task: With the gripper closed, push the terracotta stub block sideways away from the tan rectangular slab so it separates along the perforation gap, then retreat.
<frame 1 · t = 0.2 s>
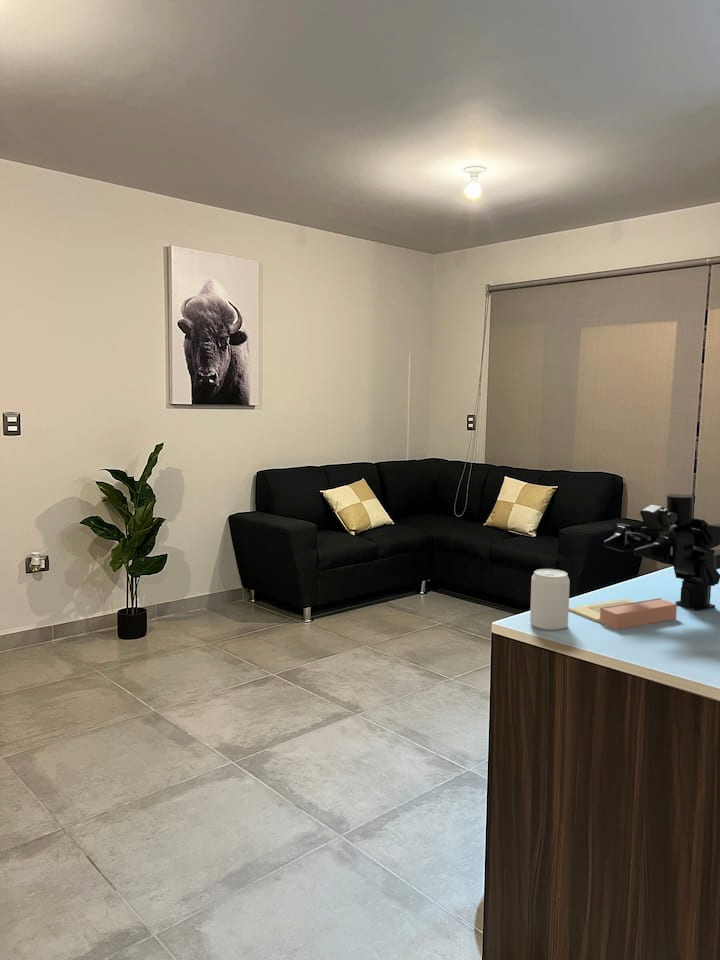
hand: (618, 547, 164), 17 cm above the table, tool horizontal, fingers open, 9 cm apart
beverage can: (548, 626, 162), on the table
tan rectangular slab: (612, 611, 172), on the table
stub: (638, 613, 165), point 2 cm above the table, slide at 0.0 cm
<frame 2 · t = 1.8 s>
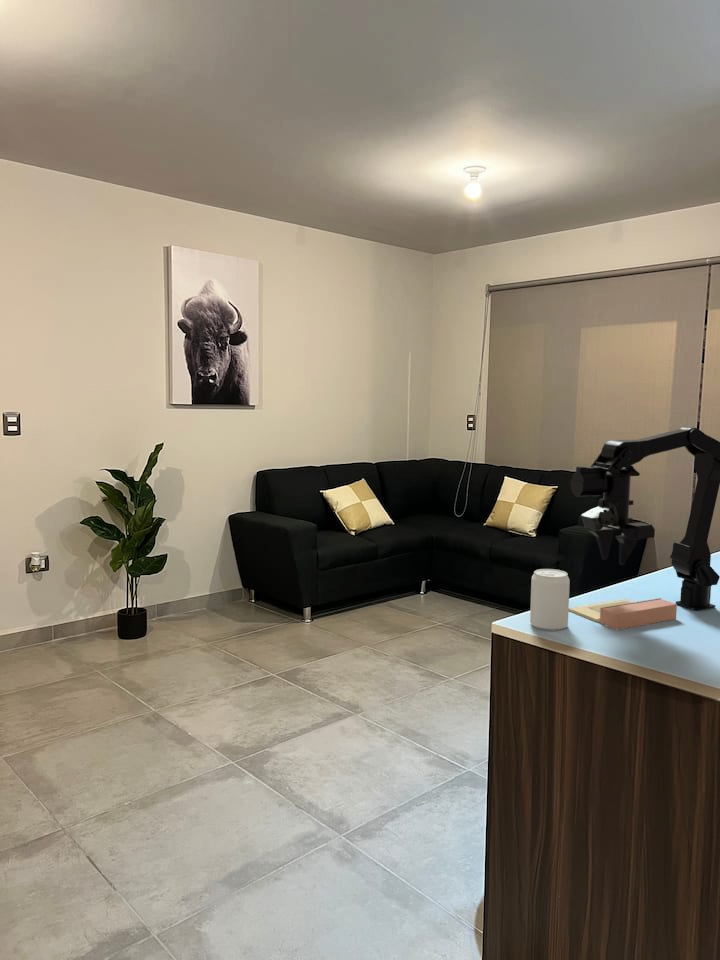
hand: (613, 561, 171), 12 cm above the table, tool pointing down, fingers open, 5 cm apart
nothing on the table moved.
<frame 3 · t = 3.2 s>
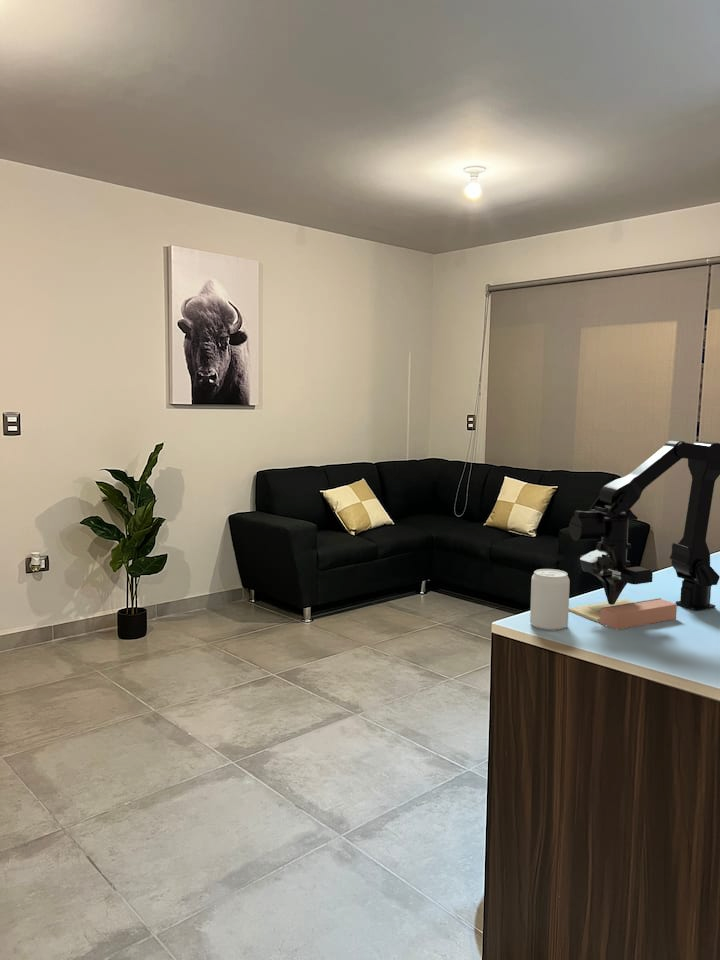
hand: (611, 604, 172), 2 cm above the table, tool pointing down, fingers closed
nothing on the table moved.
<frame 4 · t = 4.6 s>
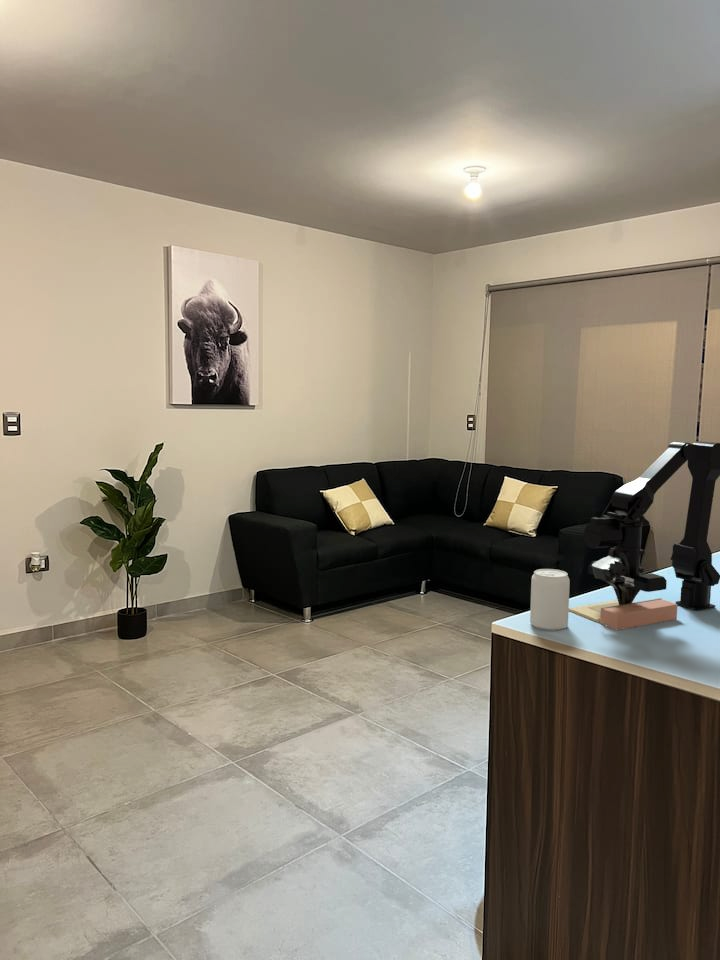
hand: (623, 611, 168), 1 cm above the table, tool pointing down, fingers closed
stub: (639, 613, 165), point 2 cm above the table, slide at 0.1 cm, touching gripper
everything else where it was.
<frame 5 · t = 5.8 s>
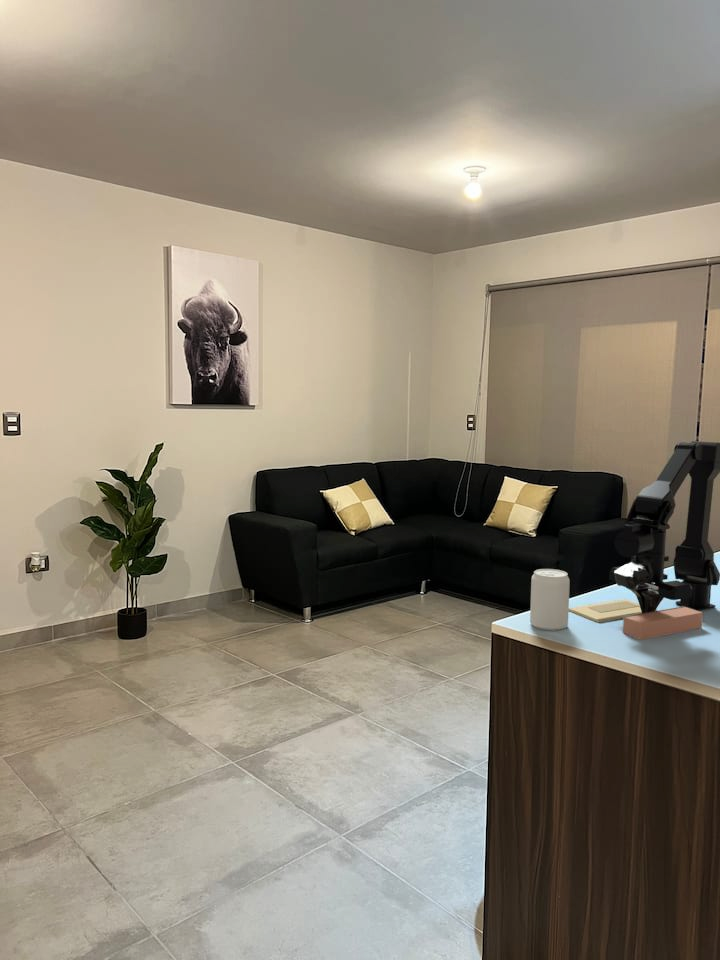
hand: (646, 619, 162), 1 cm above the table, tool pointing down, fingers closed
stub: (663, 622, 159), point 2 cm above the table, slide at 6.9 cm, touching gripper
everything else where it was.
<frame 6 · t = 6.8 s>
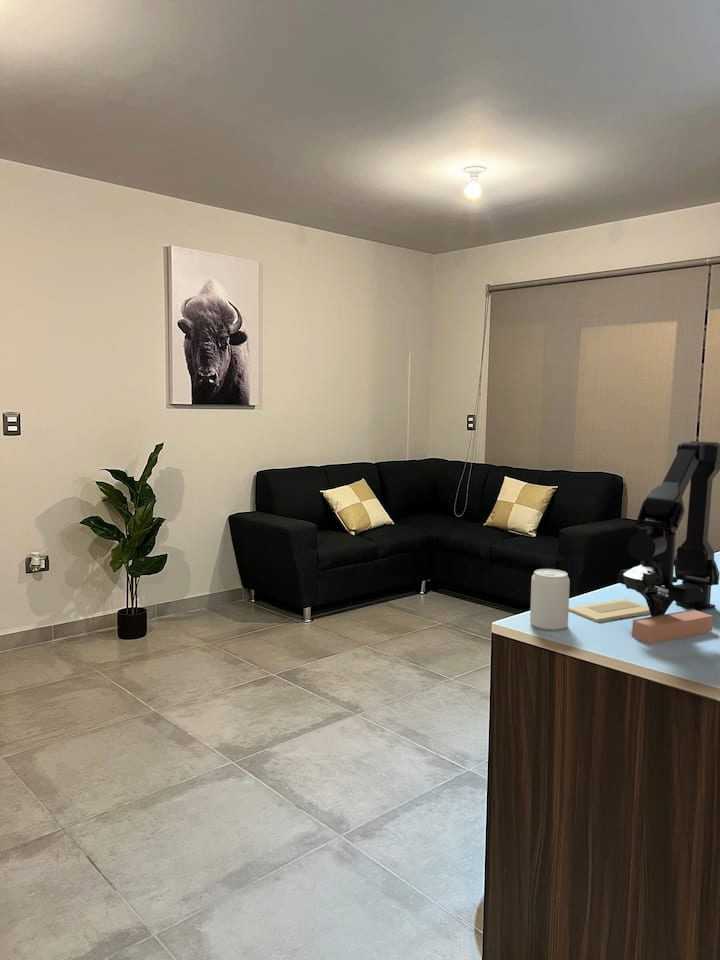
hand: (656, 623, 160), 1 cm above the table, tool pointing down, fingers closed
stub: (672, 625, 157), point 2 cm above the table, slide at 9.5 cm, touching gripper
everything else where it was.
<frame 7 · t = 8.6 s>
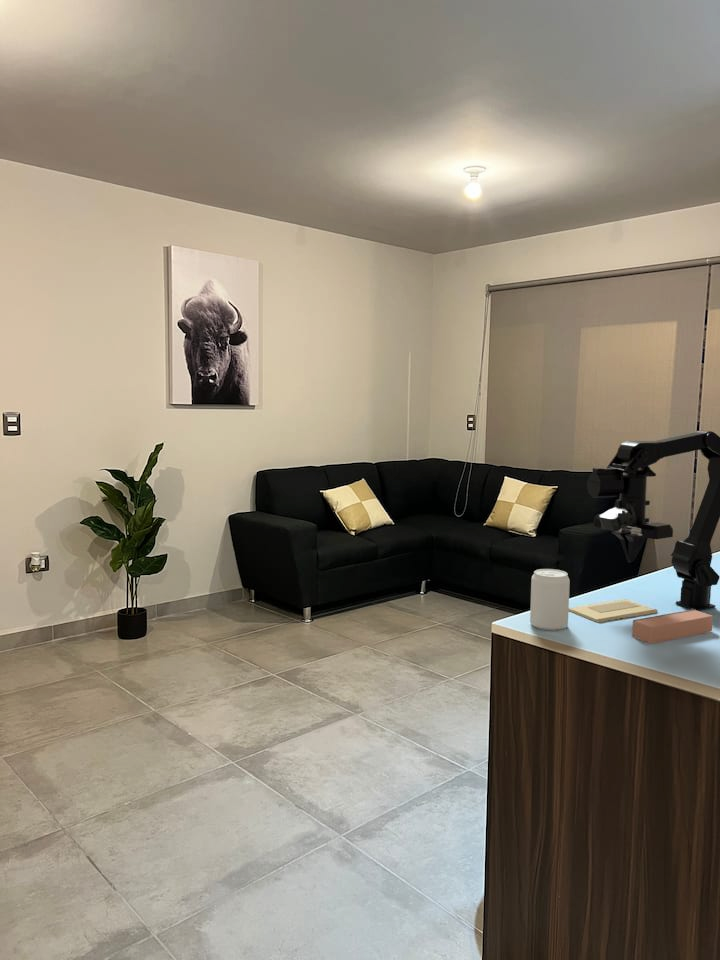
hand: (630, 561, 172), 12 cm above the table, tool pointing down, fingers closed
stub: (672, 625, 157), point 2 cm above the table, slide at 9.5 cm
everything else where it was.
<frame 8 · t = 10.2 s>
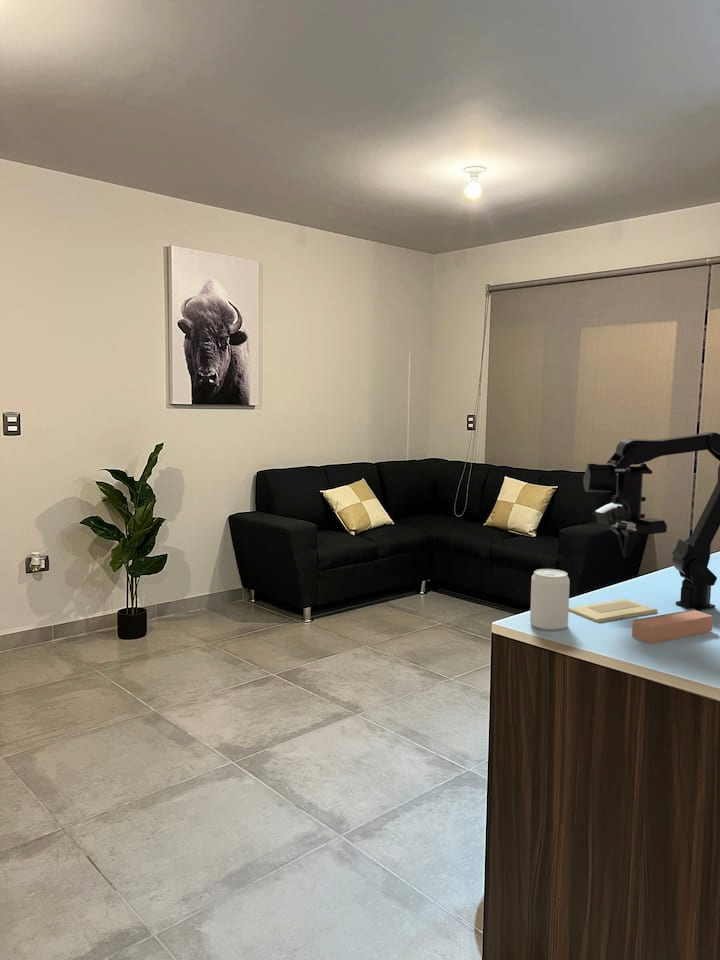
hand: (625, 556, 176), 12 cm above the table, tool pointing down, fingers closed
nothing on the table moved.
at the end: stub slide at 9.5 cm; the gripper is holding nothing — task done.
